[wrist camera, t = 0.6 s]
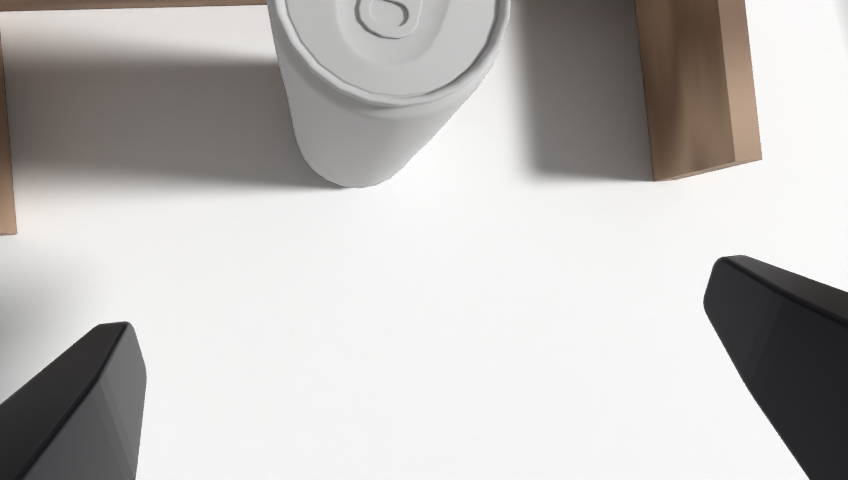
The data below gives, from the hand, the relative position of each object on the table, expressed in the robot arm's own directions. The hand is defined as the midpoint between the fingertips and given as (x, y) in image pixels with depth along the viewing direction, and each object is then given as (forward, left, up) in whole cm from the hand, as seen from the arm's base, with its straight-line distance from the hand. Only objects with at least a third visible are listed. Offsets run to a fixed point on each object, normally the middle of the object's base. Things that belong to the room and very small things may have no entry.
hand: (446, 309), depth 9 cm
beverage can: (+5, +4, -14) cm, 15 cm away
